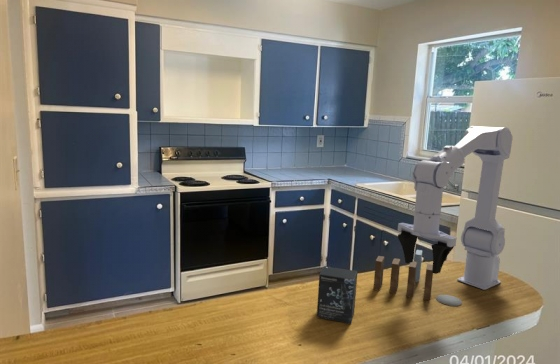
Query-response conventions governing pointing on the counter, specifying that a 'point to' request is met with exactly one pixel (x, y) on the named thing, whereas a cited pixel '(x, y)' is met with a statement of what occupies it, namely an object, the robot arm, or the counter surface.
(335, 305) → the box
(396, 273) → the domino
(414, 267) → the domino
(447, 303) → the disc
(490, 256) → the robot arm
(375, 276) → the domino
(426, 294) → the domino
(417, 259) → the domino head
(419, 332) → the counter surface
